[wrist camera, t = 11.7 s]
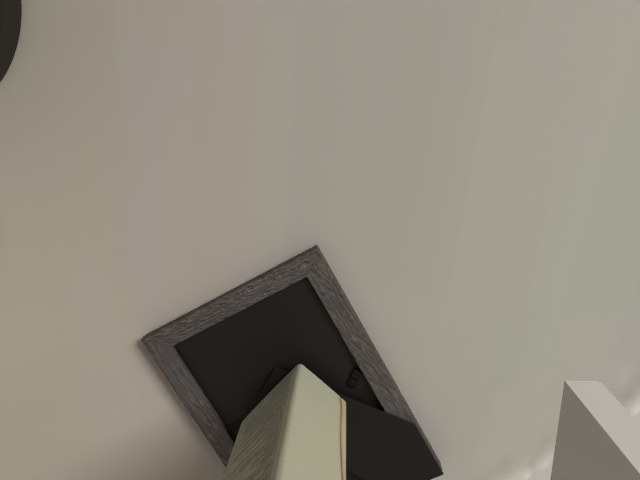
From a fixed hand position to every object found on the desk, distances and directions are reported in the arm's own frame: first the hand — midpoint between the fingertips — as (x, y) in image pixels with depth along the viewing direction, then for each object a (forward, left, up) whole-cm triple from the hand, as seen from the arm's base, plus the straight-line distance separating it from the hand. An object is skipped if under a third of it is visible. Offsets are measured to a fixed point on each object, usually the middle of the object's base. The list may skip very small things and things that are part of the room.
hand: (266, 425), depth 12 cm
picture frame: (-2, -13, -24) cm, 27 cm away
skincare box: (-2, -13, -22) cm, 25 cm away
